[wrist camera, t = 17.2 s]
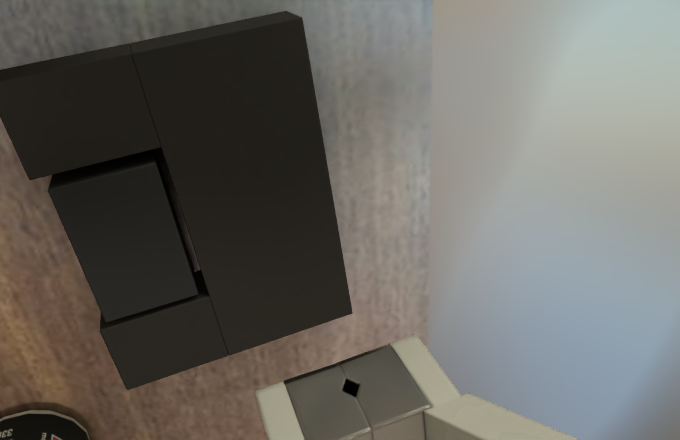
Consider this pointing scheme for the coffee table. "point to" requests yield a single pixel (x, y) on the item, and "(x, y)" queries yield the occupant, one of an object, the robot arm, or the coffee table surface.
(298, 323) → the big pad
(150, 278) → the small pad
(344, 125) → the coffee table surface
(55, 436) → the beverage can
